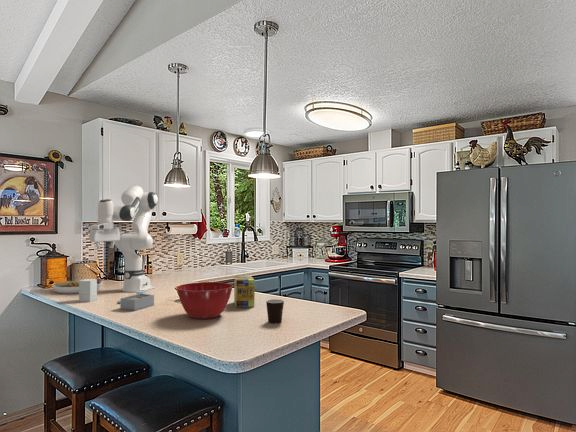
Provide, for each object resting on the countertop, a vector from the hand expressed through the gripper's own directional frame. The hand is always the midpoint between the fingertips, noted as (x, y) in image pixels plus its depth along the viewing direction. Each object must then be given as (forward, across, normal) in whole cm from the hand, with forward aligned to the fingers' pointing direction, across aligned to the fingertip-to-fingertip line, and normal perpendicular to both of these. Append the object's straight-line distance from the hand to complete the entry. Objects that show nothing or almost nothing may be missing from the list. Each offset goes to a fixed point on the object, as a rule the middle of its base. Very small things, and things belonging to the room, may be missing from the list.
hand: (105, 248), depth 237 cm
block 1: (+30, +10, +32) cm, 46 cm away
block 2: (+30, +4, +32) cm, 44 cm away
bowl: (+32, -17, -43) cm, 56 cm away
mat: (+31, -4, +19) cm, 37 cm away
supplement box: (+31, +5, -8) cm, 33 cm away
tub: (+31, +7, +32) cm, 45 cm away
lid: (+30, -4, +19) cm, 36 cm away
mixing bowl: (+32, +8, +77) cm, 83 cm away
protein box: (+32, -23, +83) cm, 92 cm away
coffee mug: (+32, +3, +115) cm, 119 cm away
